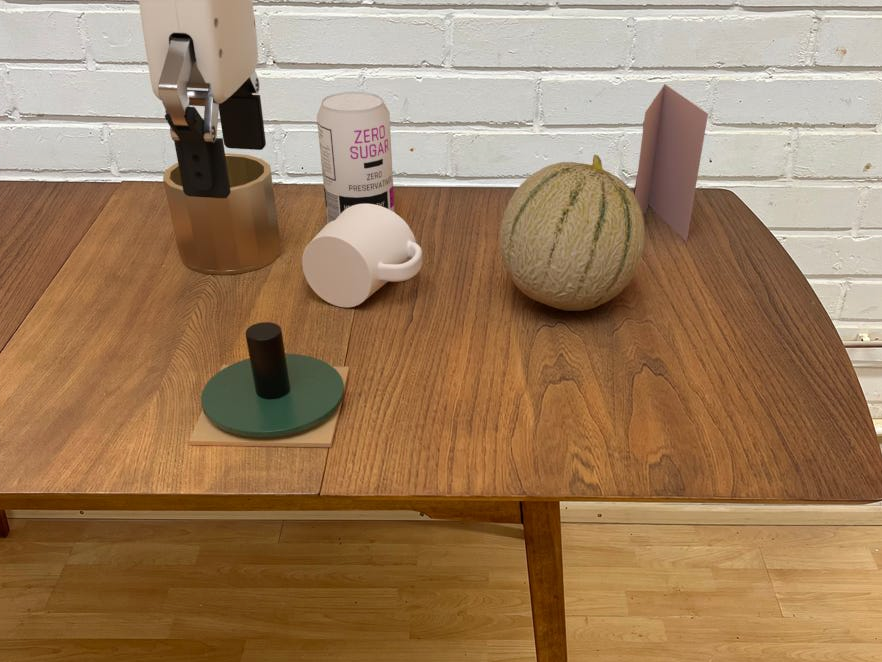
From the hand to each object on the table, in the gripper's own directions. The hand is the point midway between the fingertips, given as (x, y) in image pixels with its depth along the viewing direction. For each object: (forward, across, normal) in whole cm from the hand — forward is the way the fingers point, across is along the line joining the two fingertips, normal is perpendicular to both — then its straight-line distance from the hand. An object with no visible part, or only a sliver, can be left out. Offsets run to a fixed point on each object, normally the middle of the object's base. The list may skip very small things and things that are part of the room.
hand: (227, 170), depth 66 cm
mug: (+21, -23, +6) cm, 32 cm away
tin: (+21, -30, -12) cm, 39 cm away
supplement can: (+21, -38, +2) cm, 44 cm away
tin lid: (+20, 0, +1) cm, 20 cm away
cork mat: (+21, 0, +1) cm, 21 cm away
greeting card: (+21, -43, +39) cm, 62 cm away
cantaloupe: (+21, -22, +27) cm, 41 cm away
